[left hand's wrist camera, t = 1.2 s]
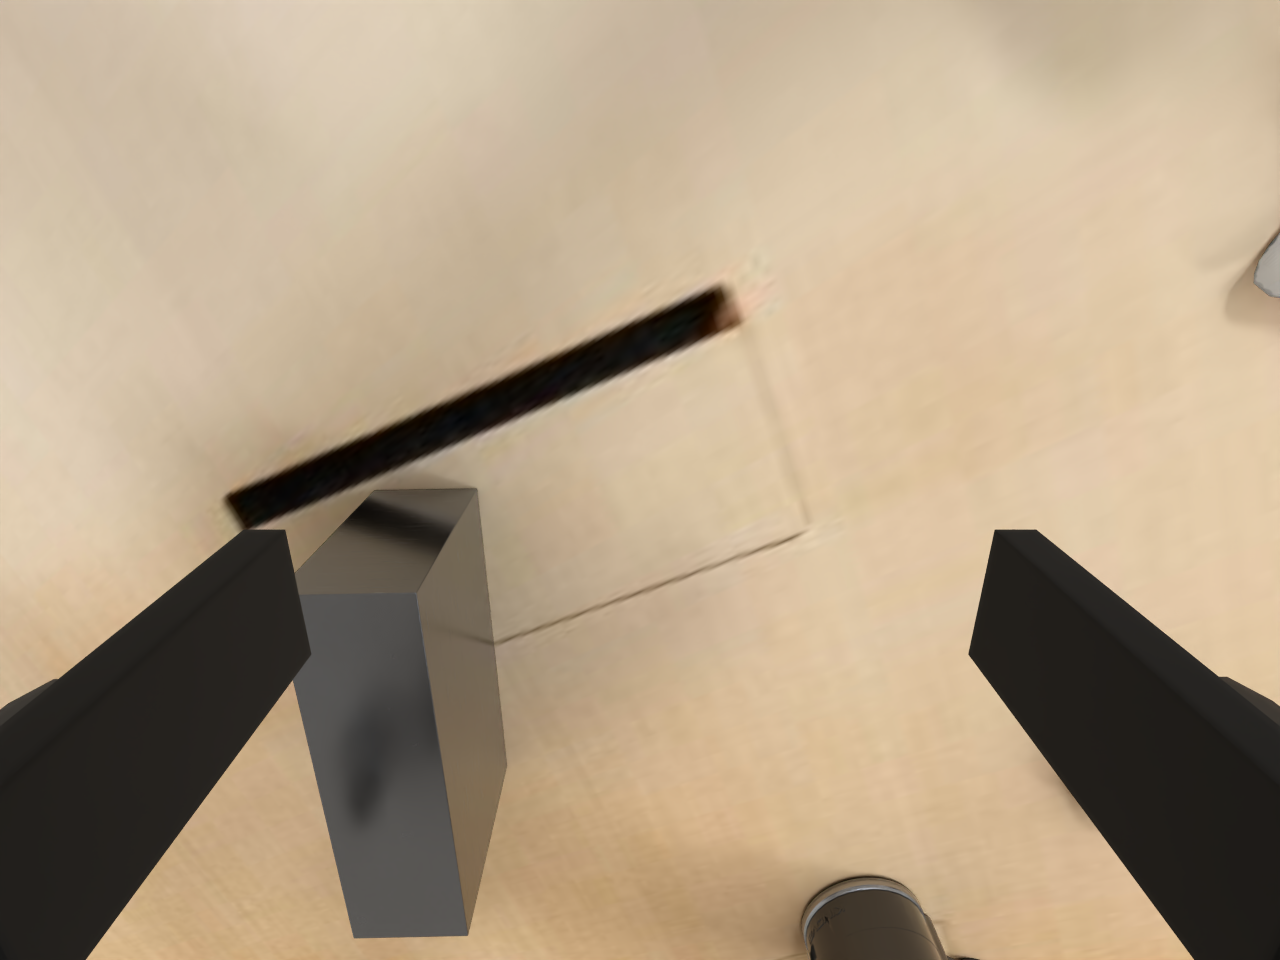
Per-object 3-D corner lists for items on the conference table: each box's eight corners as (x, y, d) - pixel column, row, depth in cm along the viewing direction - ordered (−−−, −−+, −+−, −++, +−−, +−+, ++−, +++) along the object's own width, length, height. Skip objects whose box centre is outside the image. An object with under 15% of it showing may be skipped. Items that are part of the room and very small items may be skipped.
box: (373, 490, 41) (272, 595, 29) (477, 488, 41) (416, 592, 29) (420, 767, 48) (353, 938, 37) (507, 766, 48) (468, 936, 37)
